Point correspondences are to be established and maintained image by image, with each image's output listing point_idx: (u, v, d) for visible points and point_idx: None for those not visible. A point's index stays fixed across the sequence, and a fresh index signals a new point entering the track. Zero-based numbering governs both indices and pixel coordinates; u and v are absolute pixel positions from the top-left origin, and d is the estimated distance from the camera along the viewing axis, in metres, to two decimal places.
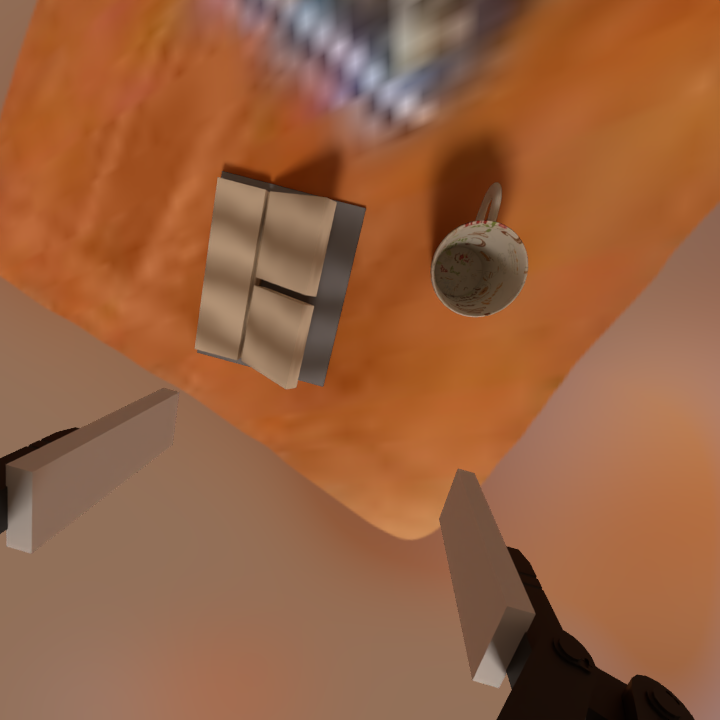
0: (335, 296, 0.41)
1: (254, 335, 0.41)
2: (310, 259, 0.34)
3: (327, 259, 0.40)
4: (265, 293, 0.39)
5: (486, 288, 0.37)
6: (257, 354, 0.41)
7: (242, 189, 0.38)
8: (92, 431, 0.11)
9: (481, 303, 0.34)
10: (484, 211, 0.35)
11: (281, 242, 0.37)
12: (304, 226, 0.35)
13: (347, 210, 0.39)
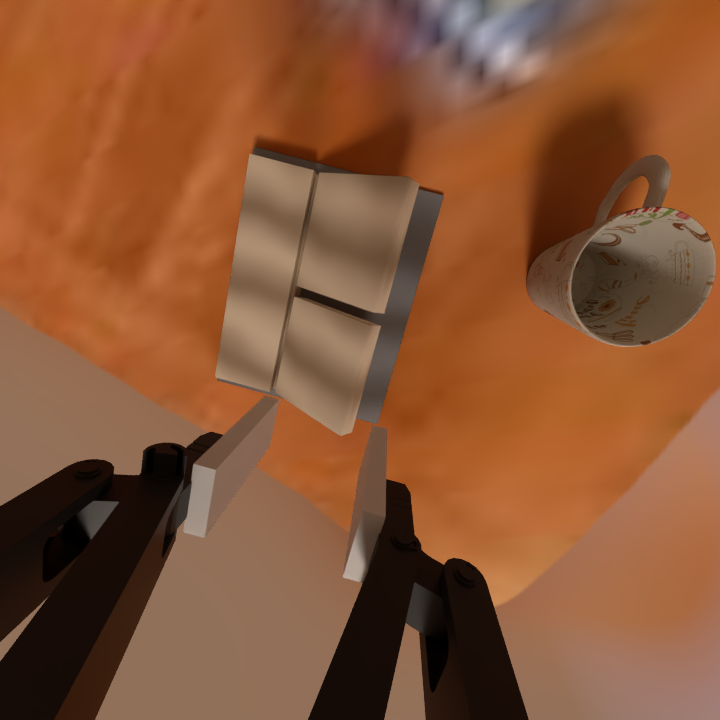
0: (397, 311, 0.32)
1: (294, 361, 0.31)
2: (381, 264, 0.25)
3: None
4: (310, 308, 0.30)
5: (611, 302, 0.27)
6: (297, 386, 0.31)
7: (282, 169, 0.28)
8: (236, 435, 0.13)
9: (617, 324, 0.25)
10: (615, 198, 0.26)
11: (336, 240, 0.28)
12: (373, 218, 0.25)
13: (419, 198, 0.30)
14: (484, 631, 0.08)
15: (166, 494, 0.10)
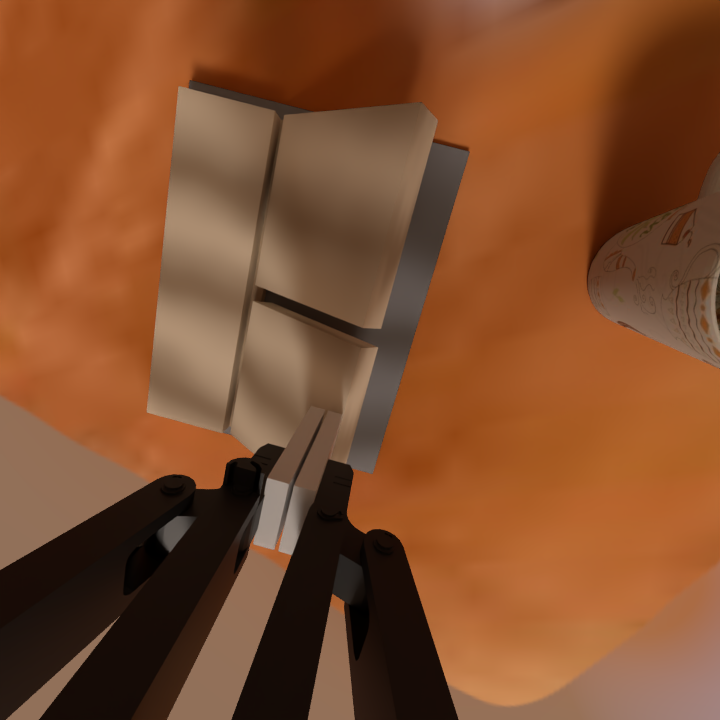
0: (401, 321, 0.23)
1: (254, 393, 0.22)
2: (376, 251, 0.15)
3: None
4: (275, 318, 0.20)
5: None
6: (259, 428, 0.22)
7: (228, 111, 0.19)
8: (297, 448, 0.13)
9: None
10: None
11: (308, 217, 0.18)
12: (362, 178, 0.16)
13: (433, 156, 0.20)
14: (401, 593, 0.08)
15: (242, 510, 0.10)
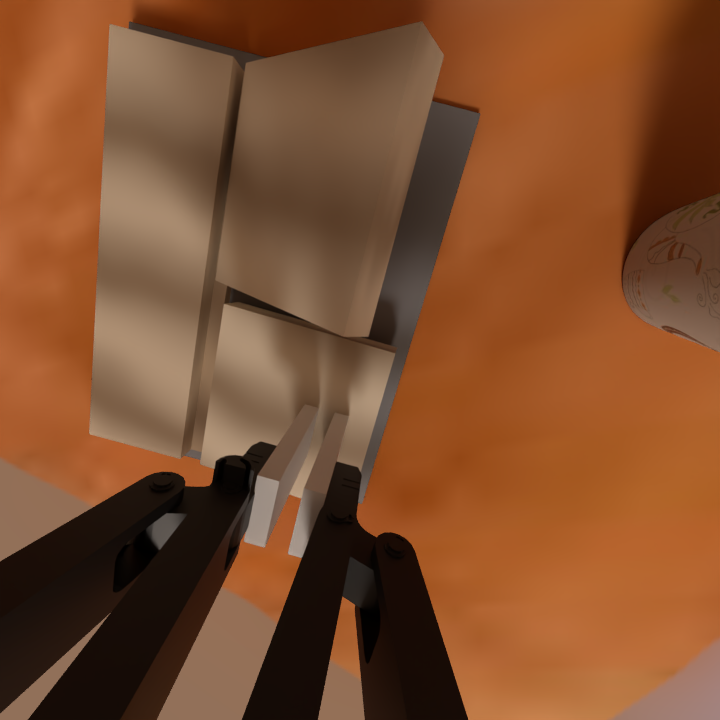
0: (395, 324, 0.19)
1: (238, 413, 0.19)
2: (360, 234, 0.12)
3: None
4: (266, 325, 0.17)
5: None
6: None
7: (174, 57, 0.15)
8: (289, 445, 0.13)
9: None
10: None
11: (275, 192, 0.14)
12: (342, 136, 0.12)
13: (434, 119, 0.16)
14: (413, 597, 0.08)
15: (232, 507, 0.10)
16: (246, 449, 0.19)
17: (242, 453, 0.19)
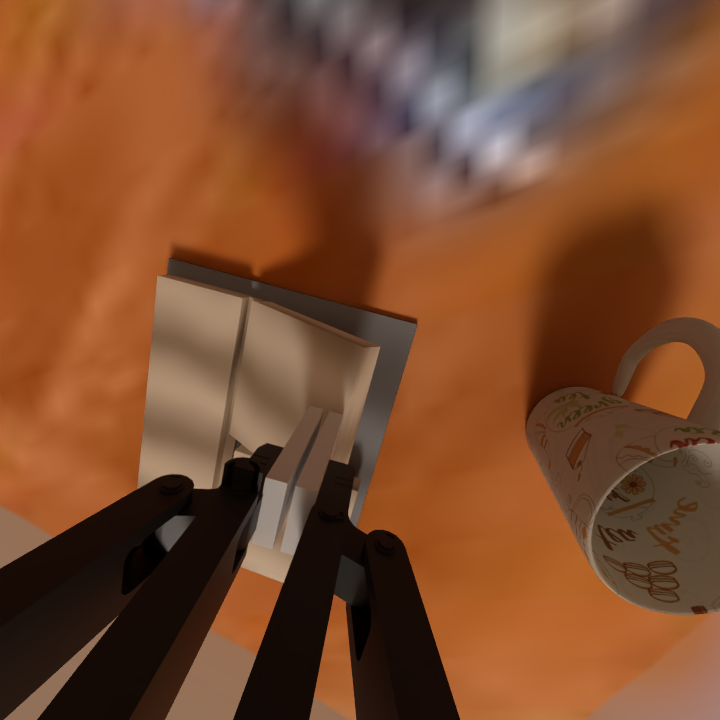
0: (361, 458, 0.25)
1: None
2: None
3: None
4: None
5: (639, 481, 0.20)
6: (255, 551, 0.25)
7: (201, 296, 0.21)
8: (296, 447, 0.13)
9: (650, 536, 0.18)
10: (648, 351, 0.19)
11: (274, 396, 0.21)
12: (318, 386, 0.18)
13: (385, 327, 0.23)
14: (403, 594, 0.08)
15: (241, 510, 0.10)
16: (250, 549, 0.25)
17: (247, 552, 0.26)
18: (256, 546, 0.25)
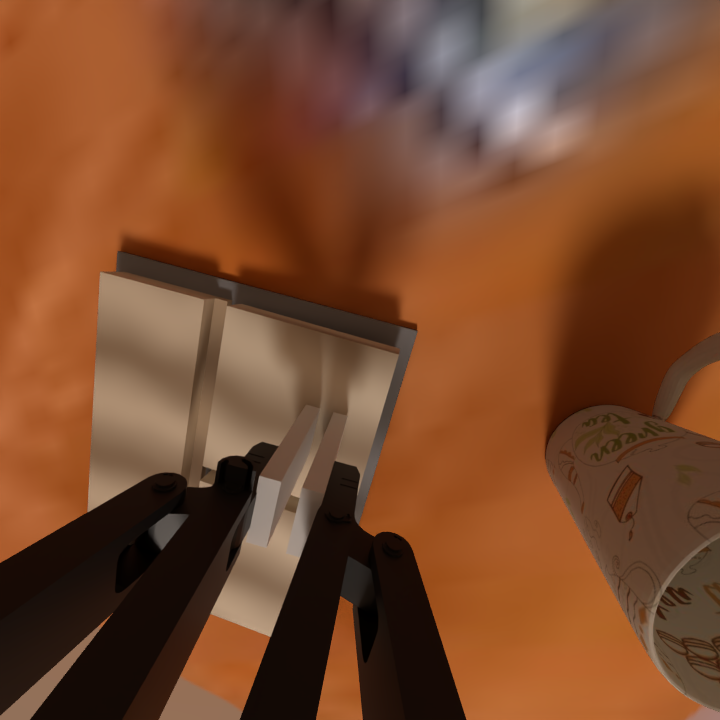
0: None
1: None
2: (360, 458, 0.18)
3: None
4: None
5: None
6: (226, 596, 0.22)
7: (154, 297, 0.17)
8: (290, 446, 0.13)
9: (710, 598, 0.14)
10: (703, 366, 0.15)
11: (275, 415, 0.18)
12: (341, 397, 0.17)
13: (379, 334, 0.19)
14: (411, 597, 0.08)
15: (234, 508, 0.10)
16: (221, 594, 0.22)
17: (218, 597, 0.22)
18: (228, 591, 0.22)
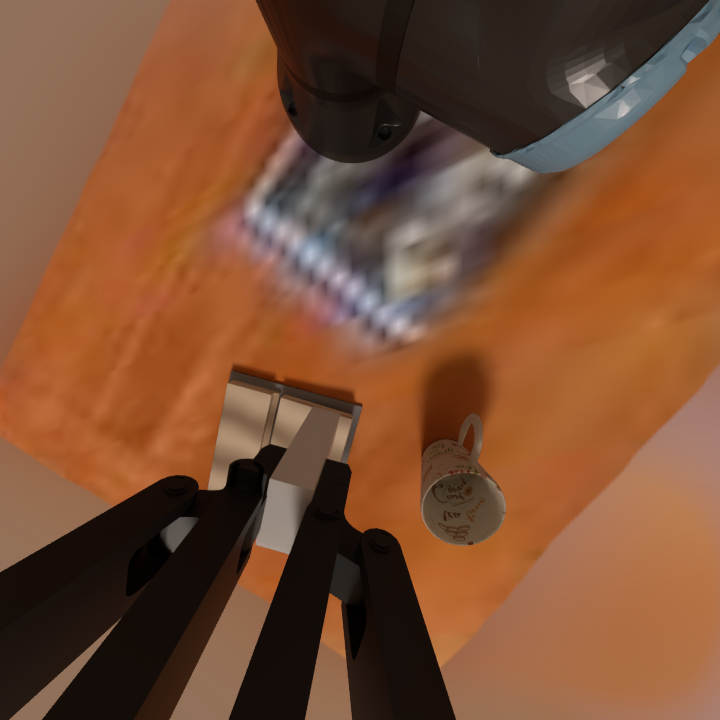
0: None
1: None
2: None
3: None
4: None
5: (471, 489, 0.41)
6: None
7: (250, 393, 0.41)
8: (299, 448, 0.13)
9: (466, 515, 0.38)
10: (468, 425, 0.39)
11: None
12: None
13: (345, 407, 0.43)
14: (398, 592, 0.08)
15: (245, 511, 0.10)
16: None
17: None
18: None
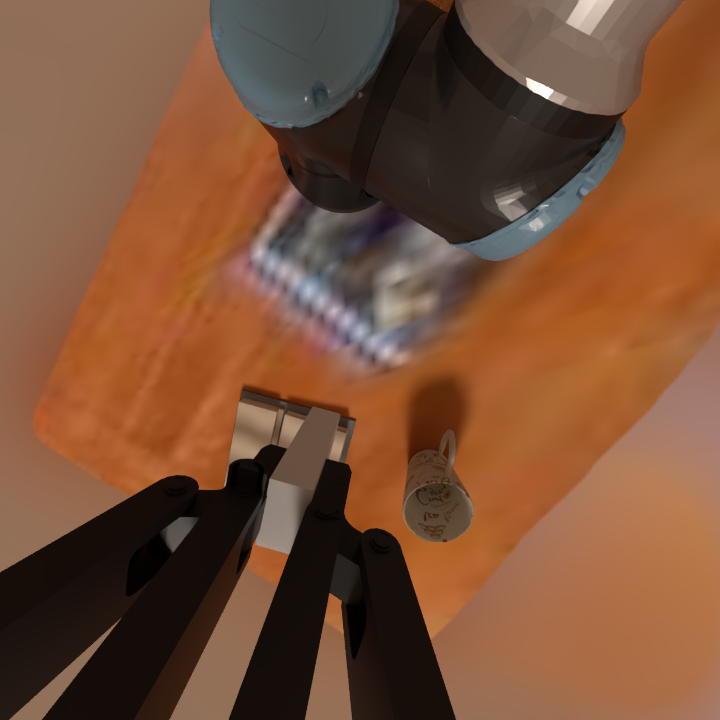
0: None
1: None
2: None
3: None
4: None
5: (449, 493, 0.47)
6: None
7: (258, 411, 0.48)
8: (299, 448, 0.13)
9: (443, 516, 0.44)
10: (446, 439, 0.46)
11: None
12: None
13: (341, 422, 0.49)
14: (398, 592, 0.08)
15: (245, 511, 0.10)
16: None
17: None
18: None
